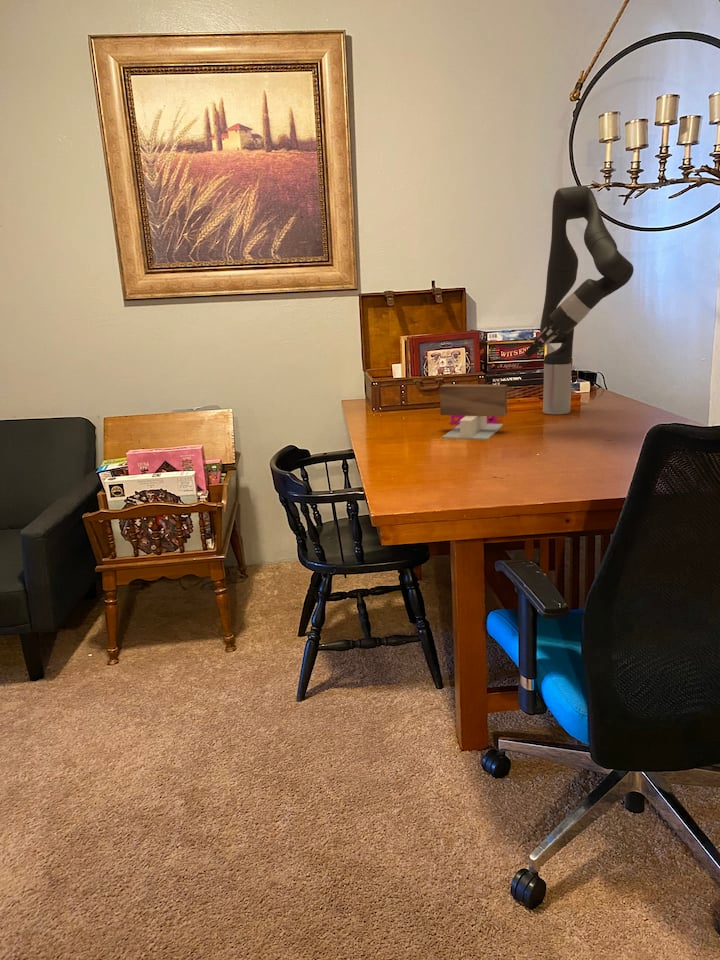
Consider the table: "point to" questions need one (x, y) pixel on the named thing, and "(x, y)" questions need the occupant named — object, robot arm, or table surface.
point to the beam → (473, 400)
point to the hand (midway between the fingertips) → (529, 353)
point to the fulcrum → (473, 429)
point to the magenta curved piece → (489, 420)
